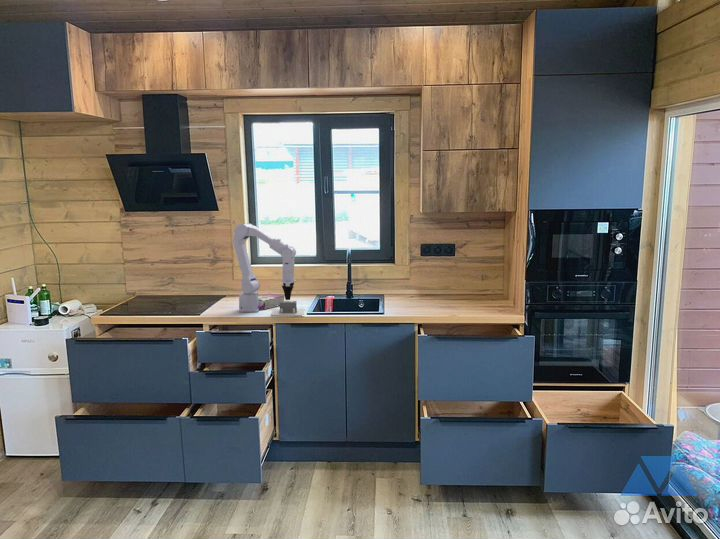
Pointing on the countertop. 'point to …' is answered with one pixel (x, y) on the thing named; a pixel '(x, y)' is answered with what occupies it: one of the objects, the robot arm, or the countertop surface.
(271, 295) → the candy bar box
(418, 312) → the countertop surface
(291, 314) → the tray
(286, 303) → the block
